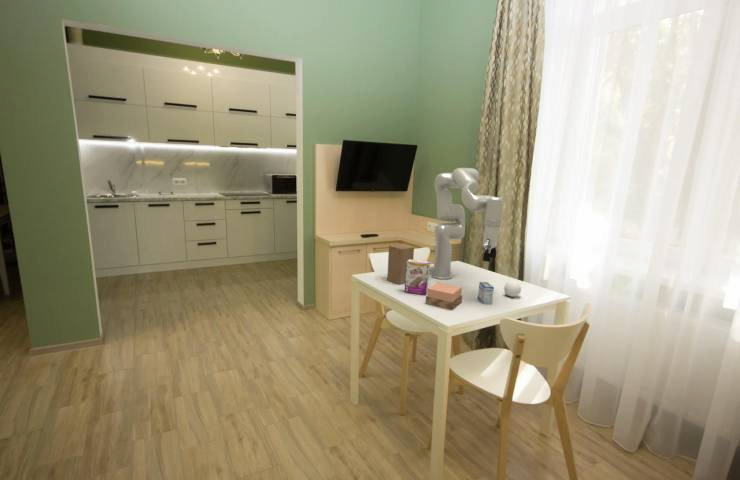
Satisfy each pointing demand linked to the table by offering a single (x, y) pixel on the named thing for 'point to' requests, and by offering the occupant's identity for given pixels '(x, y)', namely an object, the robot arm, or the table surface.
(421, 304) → the table surface
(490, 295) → the medicine box
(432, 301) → the tower bottom
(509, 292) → the ball
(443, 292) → the tower top
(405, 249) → the wooden block
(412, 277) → the candy bar box
